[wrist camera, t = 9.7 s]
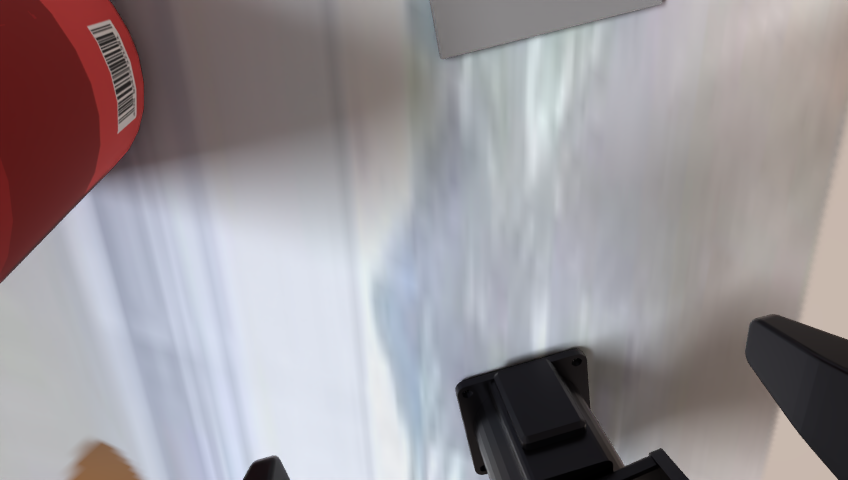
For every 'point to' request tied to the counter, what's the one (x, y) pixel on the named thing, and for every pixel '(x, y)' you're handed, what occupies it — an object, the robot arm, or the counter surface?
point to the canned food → (60, 112)
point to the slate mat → (515, 19)
